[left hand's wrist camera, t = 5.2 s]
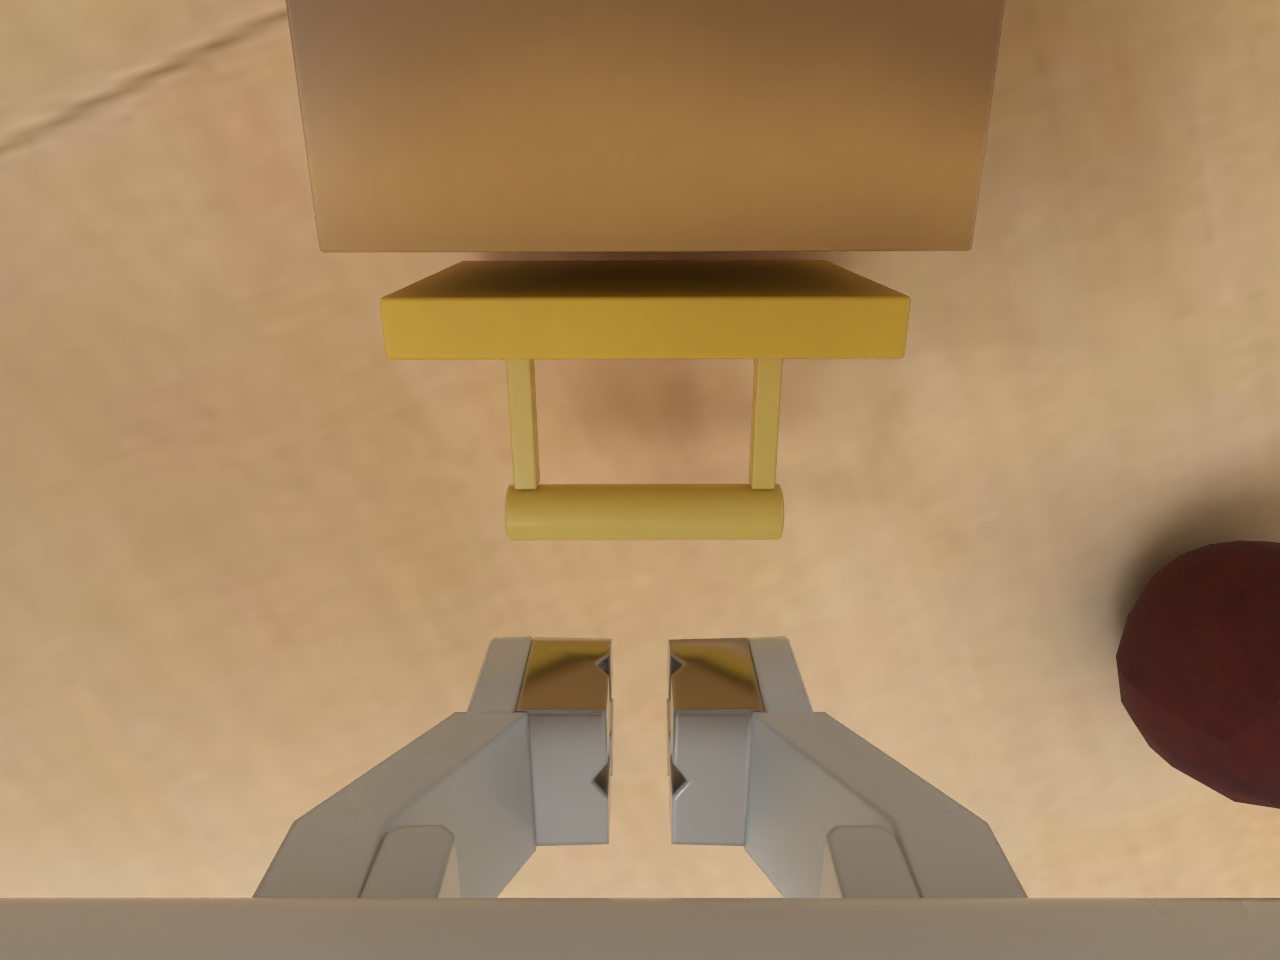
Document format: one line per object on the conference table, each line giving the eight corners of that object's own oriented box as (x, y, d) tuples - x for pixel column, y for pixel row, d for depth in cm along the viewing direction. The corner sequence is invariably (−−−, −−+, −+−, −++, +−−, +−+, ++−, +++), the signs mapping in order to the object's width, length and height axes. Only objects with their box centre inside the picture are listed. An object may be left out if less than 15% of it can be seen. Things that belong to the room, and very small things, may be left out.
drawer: (810, 489, 24) (877, 611, 18) (477, 489, 24) (413, 611, 18) (890, -565, 16) (1070, -1106, 10) (396, -564, 16) (219, -1103, 10)
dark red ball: (1354, 594, 27) (1589, 731, 20) (1162, 743, 29) (1318, 911, 22) (1217, 458, 25) (1425, 558, 18) (1024, 626, 27) (1149, 771, 20)
